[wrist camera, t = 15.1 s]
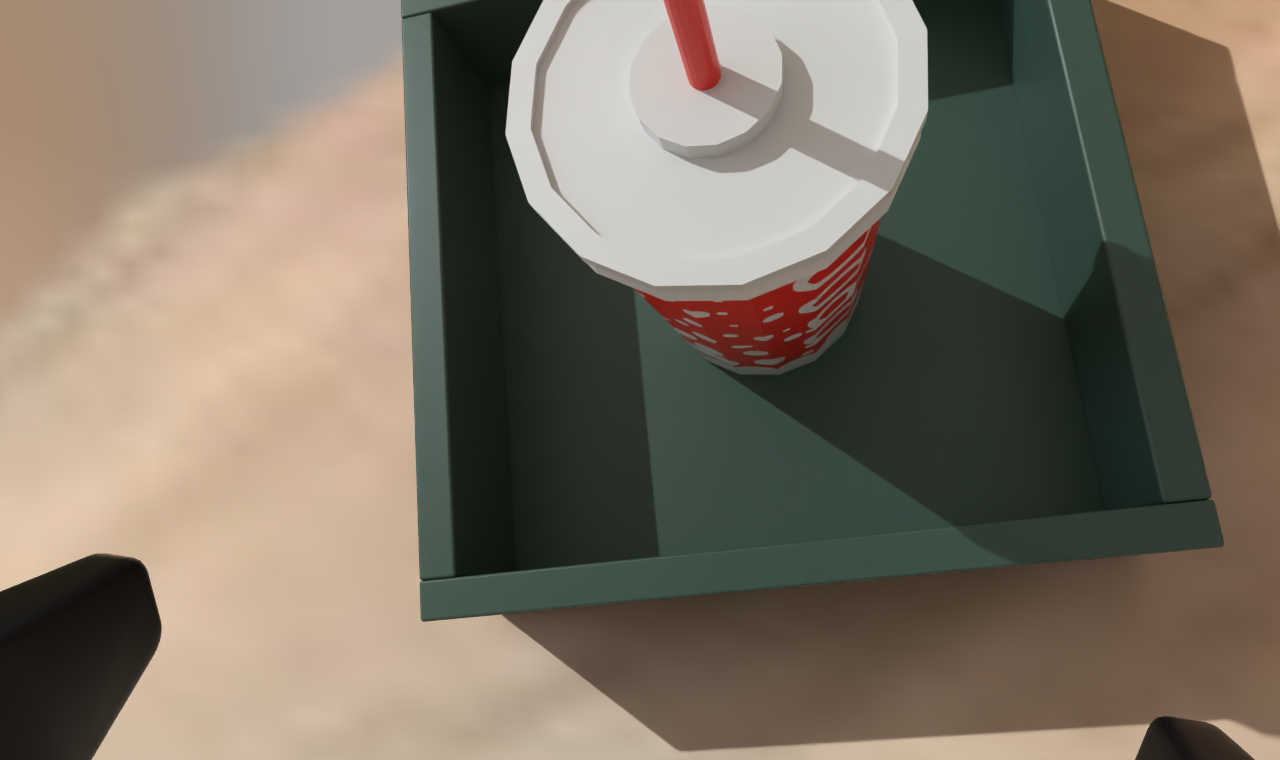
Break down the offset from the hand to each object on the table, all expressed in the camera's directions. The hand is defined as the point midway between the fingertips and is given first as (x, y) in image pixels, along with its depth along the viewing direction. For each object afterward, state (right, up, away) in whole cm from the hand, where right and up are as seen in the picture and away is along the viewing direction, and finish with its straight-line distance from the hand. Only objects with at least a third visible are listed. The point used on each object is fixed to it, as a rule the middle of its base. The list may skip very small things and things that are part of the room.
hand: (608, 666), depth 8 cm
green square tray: (+3, +5, +14) cm, 15 cm away
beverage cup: (+3, +5, +13) cm, 15 cm away
